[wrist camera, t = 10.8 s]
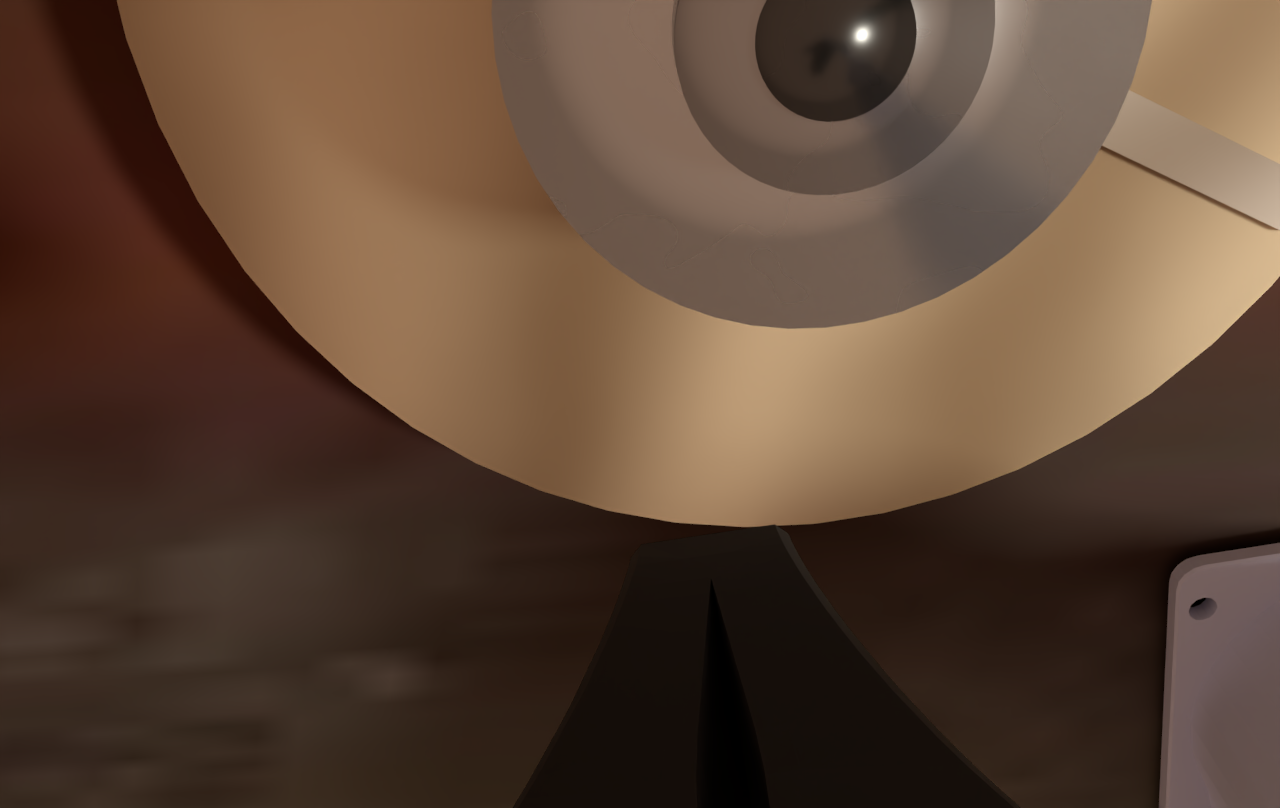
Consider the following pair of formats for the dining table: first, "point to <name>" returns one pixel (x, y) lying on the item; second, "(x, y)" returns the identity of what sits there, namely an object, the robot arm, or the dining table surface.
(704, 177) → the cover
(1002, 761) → the dining table surface
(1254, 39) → the disc
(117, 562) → the dining table surface
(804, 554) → the dining table surface
